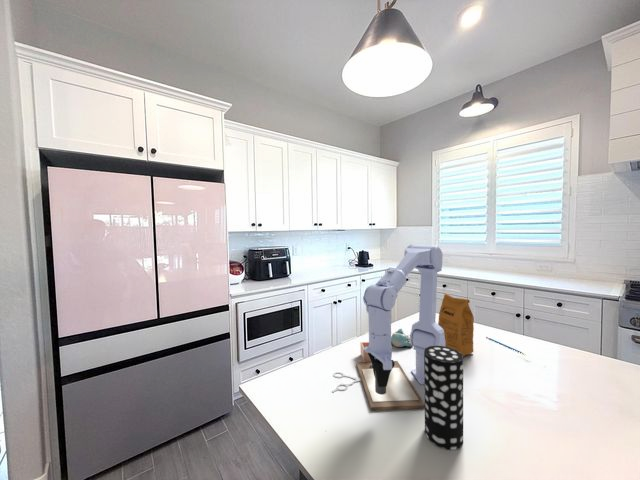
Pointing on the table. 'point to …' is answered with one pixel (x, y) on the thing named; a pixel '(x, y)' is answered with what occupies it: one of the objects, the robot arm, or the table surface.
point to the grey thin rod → (503, 344)
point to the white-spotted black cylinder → (443, 396)
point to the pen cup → (363, 353)
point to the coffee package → (457, 324)
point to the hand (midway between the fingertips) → (380, 382)
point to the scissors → (345, 384)
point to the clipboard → (390, 389)
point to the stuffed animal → (400, 339)
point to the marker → (378, 389)
